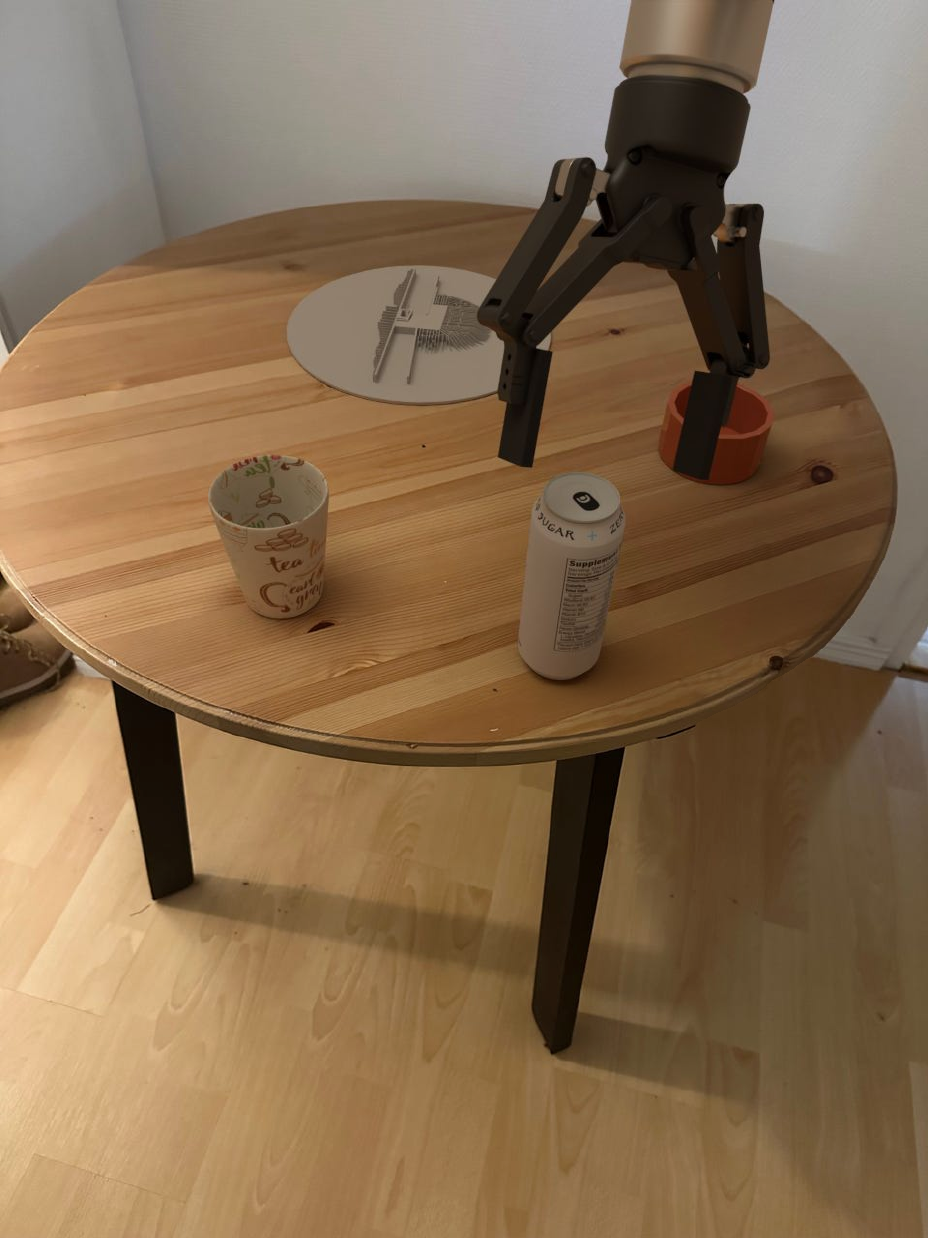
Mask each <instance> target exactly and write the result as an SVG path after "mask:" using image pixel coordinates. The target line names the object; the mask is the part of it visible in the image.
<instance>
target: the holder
mask: <svg viewBox="0 0 928 1238" xmlns="http://www.w3.org/2000/svg"><path fill="white" fill-rule="evenodd" d="M692 381H693V380H690V381H687V382H683V383H682V384H680V385H679V386H678V387H676V388H674V389H673V390H672V391H671V393H670V395H669V397H668V400H667V403H666V407H665V412H664V417H663V421H662V426H661V430H660V434H659V440H658V452H659V455H660V458H661V459H662V461H663V462H664V464H665V465H666V466H667V467H668V468H669V469H671V470H672V471H673V466H674V461H675V457H676V452H677V448H678V443H679V439H680V434H681V430H682V425H683V421H684V416H685V412H686V408H687V403H688V399H689V394H690V390H691V385H692ZM730 411H731V412H730V416H729V420H728V422H727V424H726V425H725V427H721V429H720V433H719V438H718V442H717V446H716V450H715V455H714V459H713V463H712V467H711V472H710V476H709V480H700V479H697V478H694V477H691V476H688V475H685V474H682V473H679V472H676V471H674V473H676V474H678V475H680V476H681V477H684V478H686V479H688V480H691V481H694V482H696V483H701V484H706V485H717V486H721V485H726V486H727V485H733V484H737V483H740V482H743V481H745V480H747V479H749V478H751V477H752V476H753V475H754V474H755V473H756V472H757V471H758V469H759V467H760V463H761V460H762V457H763V454H764V451H765V448H766V445H767V441H768V438H769V435H770V432H771V430H772V425H773V423H774V418H775V412H774V410H773V407H772V405H771V403H770V402H769V401H768V400H767V399H766V398H765V397H764V396H763V395H761V393H759V392H758V391H756V390H755V389H752V388H750V387H748V386H746V385H744V384H741V383H739V382H738V383H737V387H736V391H735V395H734V399H733V403H732V408H731V410H730Z"/></svg>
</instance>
